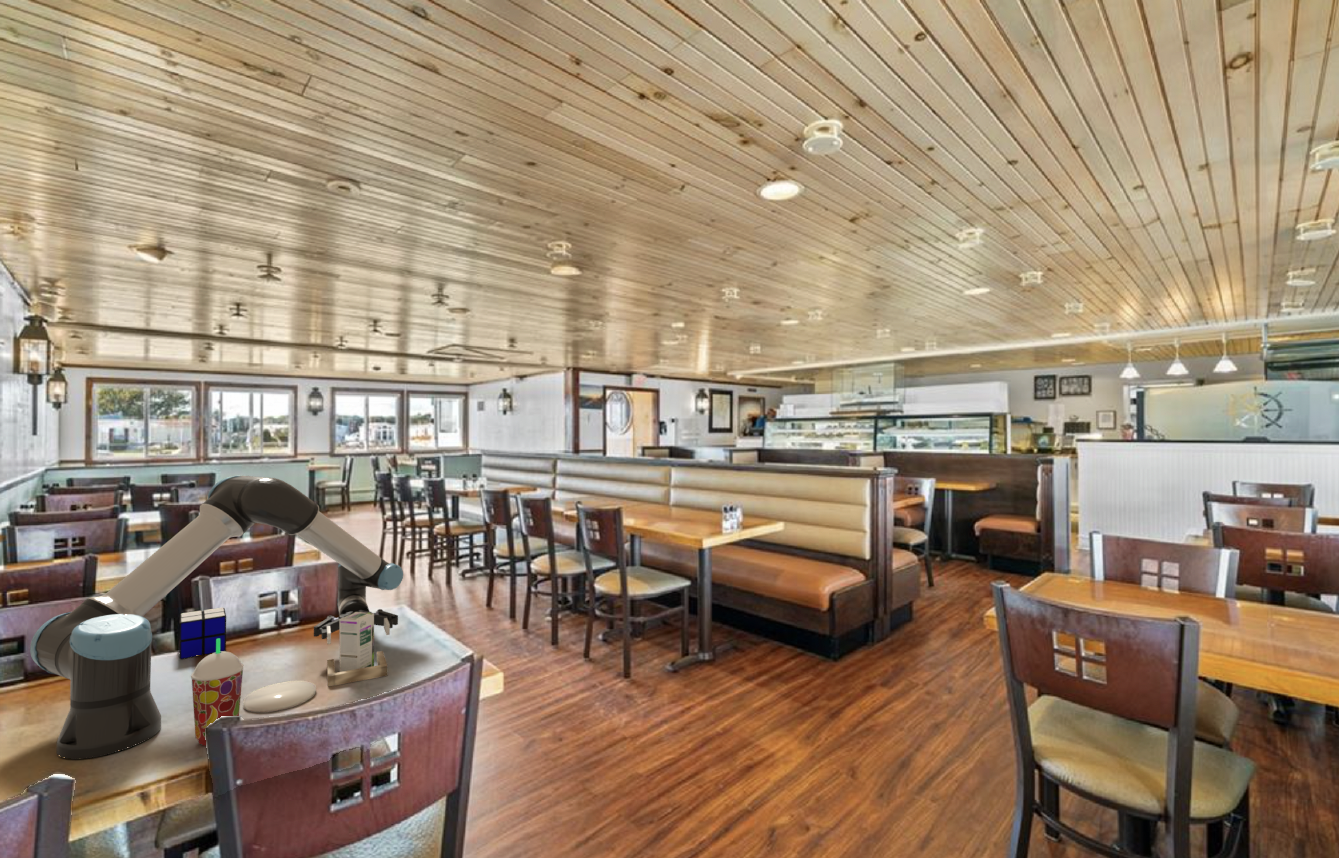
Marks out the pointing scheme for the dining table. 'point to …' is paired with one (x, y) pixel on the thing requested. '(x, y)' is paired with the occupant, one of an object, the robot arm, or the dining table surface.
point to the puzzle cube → (202, 632)
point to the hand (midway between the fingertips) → (359, 634)
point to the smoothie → (216, 689)
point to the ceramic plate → (279, 696)
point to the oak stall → (357, 672)
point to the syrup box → (356, 641)
